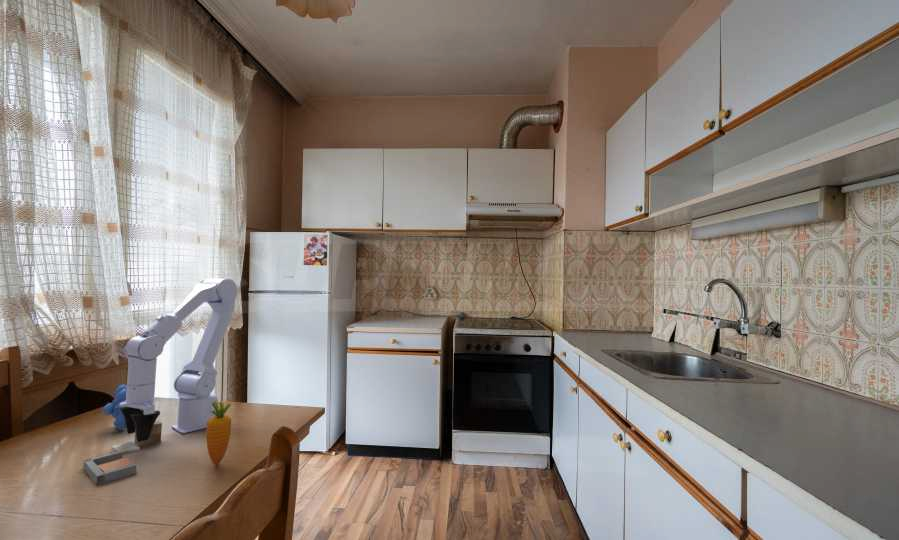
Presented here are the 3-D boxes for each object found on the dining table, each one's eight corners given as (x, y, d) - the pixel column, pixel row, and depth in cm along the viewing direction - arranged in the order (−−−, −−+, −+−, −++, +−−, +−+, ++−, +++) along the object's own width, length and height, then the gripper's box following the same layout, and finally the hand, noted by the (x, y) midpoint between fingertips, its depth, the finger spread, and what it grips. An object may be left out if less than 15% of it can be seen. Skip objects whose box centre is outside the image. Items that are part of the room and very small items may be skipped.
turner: (155, 437, 104) (156, 419, 104) (163, 443, 101) (164, 424, 101) (112, 448, 97) (113, 428, 97) (119, 455, 93) (120, 434, 93)
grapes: (98, 425, 111) (101, 383, 111) (128, 420, 116) (131, 380, 116) (102, 438, 103) (105, 392, 103) (134, 431, 108) (137, 388, 108)
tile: (124, 464, 90) (124, 457, 90) (133, 470, 87) (133, 463, 87) (96, 472, 86) (97, 465, 86) (104, 479, 83) (105, 472, 83)
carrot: (233, 463, 91) (237, 399, 92) (214, 472, 87) (218, 405, 87) (218, 459, 93) (221, 396, 93) (198, 468, 88) (202, 402, 89)
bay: (121, 458, 92) (121, 450, 92) (136, 473, 85) (136, 464, 85) (83, 468, 86) (83, 460, 86) (96, 485, 80) (97, 476, 80)
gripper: (113, 380, 100) (109, 433, 100) (130, 391, 92) (127, 449, 91) (146, 376, 106) (142, 426, 105) (165, 385, 97) (162, 440, 97)
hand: (137, 436), depth 99 cm, fingers open, 7 cm apart
